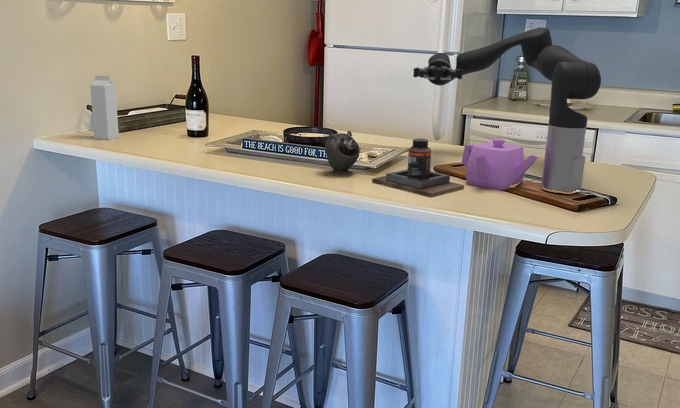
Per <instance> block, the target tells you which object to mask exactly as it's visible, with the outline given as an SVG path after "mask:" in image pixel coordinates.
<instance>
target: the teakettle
mask: <svg viewBox="0 0 680 408" xmlns="http://www.w3.org/2000/svg"><path fill="white" fill-rule="evenodd" d="M505 141H506V140H505V139H503V138H493V139H492V141H489V142H484V143H479V144H473V143H472V144H470V143H468V144H465V145H464V147H463V155H462V159H461V164H462V165H464V167H466V172H465V182H466V184H467V185H471V186H475V187H479V188H484V189H491V190H496V191H506V190H509V189H508V187H509V186H511V185H514V184H517V183H519V182H521V181H522V182H523V180H524V176H525V174H526V173H527V171H528V170H529V169H531V167H532V165H534V163H535V162H536V160H537V159H538V158H539V157H538V156H537V155H533V154H530V155H529V156H528V157H527V158H526V159H525V154H524V147H523V146H522V145H517V144H511V143H510V144H509V143H505ZM522 182H521V183H522Z"/></svg>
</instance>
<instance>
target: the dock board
mask: <svg viewBox="0 0 680 408" xmlns="http://www.w3.org/2000/svg"><path fill="white" fill-rule="evenodd" d="M371 182H372V183H374V184H378V185H382V186H386V187H390V188H393V189H394V188H395V189H398V190H401V191H404V192H410V193H412V194H413V193H414V194H416V195H417V194H418V195H421V196H424V197H425V196H426V197H429V198H433V197H438V196H441V195H444V194H449V193H453V192H456V191H461V190H464V189H465V184H461V183H457V182H453V181H450V183H447V184H442V185H438V186H434V187H430V188H426V189H417V188H413V187H409V186H405V185H401V184H397V183H393V182H389V181H386V175H384V176H377V177H374V178H373V177H372V179H371Z"/></svg>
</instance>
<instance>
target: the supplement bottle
mask: <svg viewBox="0 0 680 408" xmlns="http://www.w3.org/2000/svg"><path fill="white" fill-rule="evenodd" d="M428 145H429V140H428V139H427V138H413V140H412V145H411V147H409V148H408V155H407V156H408V160H407V169H408V173H407V177H410V178H415V179H419V180H423V179H427V178H430V171H431V163H432V162H431V161H432V160H431V159H432V150H431V148H430V147H429V146H428Z"/></svg>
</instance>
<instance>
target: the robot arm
mask: <svg viewBox="0 0 680 408" xmlns="http://www.w3.org/2000/svg"><path fill="white" fill-rule="evenodd" d="M552 41H553V40H552V35H551V32H550V29H549V28H547V27H536V28H532V29H529V30H525V31H523V32H521V33H517V34H515V35H512V36H510V37H506V38H504V39H502V40H499V41H496V42H495V43H492V44H489V45H485V46H484V47H480V48H477V49H473V50H469V51H465V52H461V53H459V54H457V56H456V59H455V62H456V67H455V69H453V67H452V65H451V60H450V57H449V55H448V54H447V53H444V52H438V53H434V54H433V55H432V56H430V57H429V59H428V61H427V63H428V66H424V67H414V68H413V75H412V78H420V79H421V78H423V79H424V80H425V79H426V80H428V81H429V82H430V83H431V84H433V85H436V86H445V85H447V84H449V83H451V82H452V81H454V80H456V79H457V80H462V79H463V76H465V75H467V74H472V73H476V72H481V71H483V70H487V69H488V68H490V67H491V66H492V65H493V64H495V63H496V62H497V61H498V60H499V58H501V56H502V55H504V54H505V53H506V52H508V51H509V50H510V49H512V48H515V47H518V46H520V48H521V53H522V57H523V60H524V62H525V64H526V65H527V66H528V67H531V68H533V69H536V71H538V72H539V73H540V74H541V75H542V76H543V77H544V78H545V79H546V80H549V81H550V82H551V86H550V87H551V90H550V105H549V119H548V126H547V127H548V128H547V136H546V142H545V152H544V158H543V168H542V176H541V182H540V184H541V185H540V187H541V186H542V187H544V188H546V189H549V190H556V191H563V192H573V191H576V190H581V191H582V185H583V184H582V183H583V177H584V169H585V162H586V156H585V155H583V154H584V146H585V139H586V133H587V132H586V131H587V125H588V116H586V115H585V114H583V113H581V112H578V111H576V110H574V109H573V108H571V107H570V106H569V105H568V100H588V99H591V98H593V97H594V96H596V94H597V93H598V92H599V90H600V88H601V85H602V84H601V83H602V76H601V72H600V70H599V68H598V66H597V65H596V64H595V63H593V62H589V61H586V60H583V59H581V58H580V57H578V56H576V55H575V54H574V53H572V52H570V51H569V50H568V49H566V48H565V47H564V46H561V45H555V44H553V42H552Z"/></svg>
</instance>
